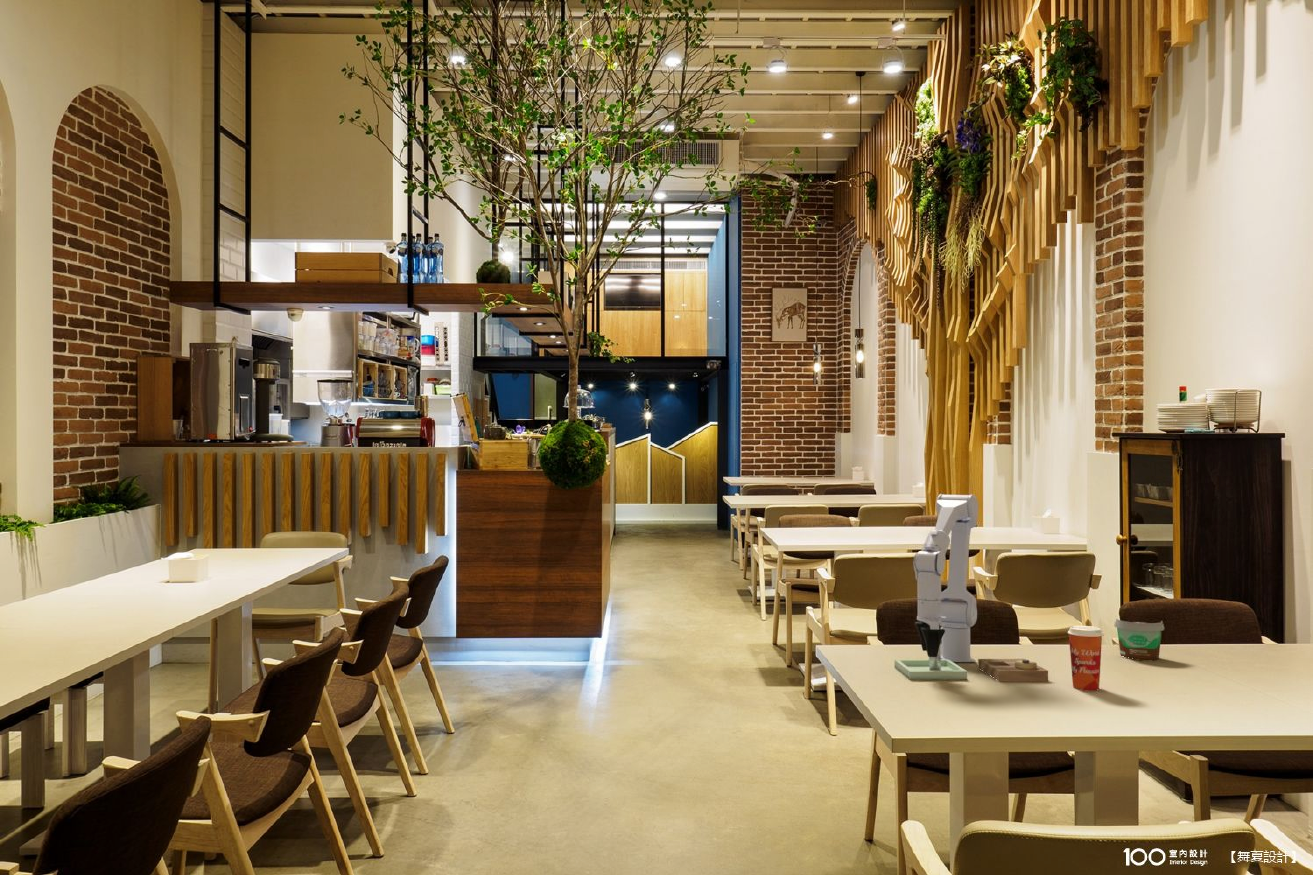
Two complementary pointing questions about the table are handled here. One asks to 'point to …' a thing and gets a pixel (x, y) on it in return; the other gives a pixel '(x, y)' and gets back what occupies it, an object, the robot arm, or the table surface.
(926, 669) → the tray
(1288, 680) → the table surface
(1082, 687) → the paper cup
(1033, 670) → the tensioner block
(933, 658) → the pin
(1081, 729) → the table surface
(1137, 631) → the food container
